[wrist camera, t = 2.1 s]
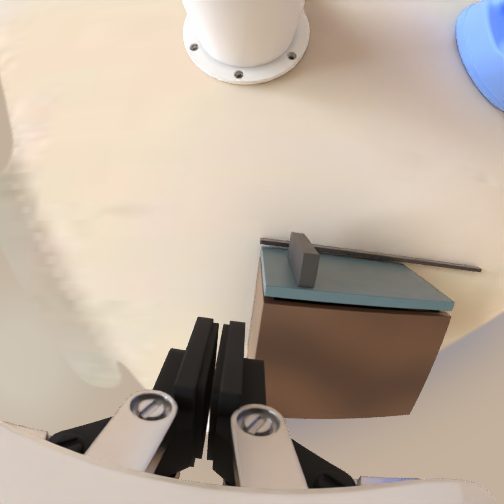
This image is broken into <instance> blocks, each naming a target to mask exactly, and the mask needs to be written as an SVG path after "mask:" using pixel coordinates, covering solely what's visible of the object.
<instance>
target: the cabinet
mask: <svg viewBox="0 0 504 504" xmlns="http://www.w3.org/2000/svg"><path fill="white" fill-rule="evenodd" d="M289 243H290V241H282V240H274V239H265V238H260V244H265V245H274V246H282V247H289ZM312 245H313V246H314V248H315V249H316V250H317V251H322V252H330V253H338V254H346V255H354V256H362V257H370V258H378V259H385V260H393V261H401V262H409V263H416V264H424V265H431V266H439V267H446V268H454V269H461V270H468V271H476V272H481V269H480V268H478V267H474V266H467V265H460V264H454V263H447V262H440V261H433V260H426V259H419V258H411V257H404V256H397V255H390V254H382V253H375V252H367V251H360V250H352V249H345V248H337V247H329V246H321V245H314V244H312ZM450 319H451V316H450V315H449V314H448V313H447V312H445V311H444V310H426V309H409V308H393V307H379V306H366V305H353V304H341V303H330V302H319V301H308V300H298V299H288V298H279V297H269V296H264V288H263V276H262V264H261V257H260V259H259V267H258V274H257V281H256V289H255V296H254V304H253V311H252V318H251V325H250V333H249V340H248V353H247V358H249V359H259V360H264V368H265V387H266V406H269V407H271V408H273V409H275V410H277V411H278V412H279V413H280V414H281V415H282V416H283V418H304V419H345V418H371V417H386V416H398V415H409V414H410V412H411V411H412V408H413V406H414V405H415V403H416V401H417V399H418V397H419V394H420V392H421V390H422V388H423V386H424V384H425V382H426V380H427V377H428V375H429V373H430V371H431V368H432V366H433V364H434V361H435V359H436V356H437V354H438V351H439V349H440V346H441V344H442V341H443V339H444V336H445V333H446V331H447V328H448V325H449V322H450Z"/></svg>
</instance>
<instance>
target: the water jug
mask: <svg viewBox="0 0 504 504" xmlns="http://www.w3.org/2000/svg"><path fill="white" fill-rule="evenodd" d="M456 40H457V45H458V49H459V53H460V56H461V58H462V61H463V63H464V66H465V68H466V70H467V72H468V74H469V75H470V77H471V79H472V80H473V82H474V83H475V85H476V86H477V88H478V89H479V90H480V92H481V93H482V94H483V95H484V96H485V97H486V98H487V99H488V100H489V101H490V102H491V103H492V104H493V105H494V106H496V107H497V108H499V109H500V110H502V111H504V0H482V1H480V2H478V3H476V4H473V5H471V6H469V7H468V8H466V9H465V10H463V11H462V12H461V14H460V15H459V17H458V20H457V24H456Z"/></svg>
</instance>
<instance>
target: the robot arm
mask: <svg viewBox="0 0 504 504" xmlns="http://www.w3.org/2000/svg"><path fill="white" fill-rule="evenodd" d="M305 1H306V0H182V2H183V4H184V6H185V9H186V11H187V13H188V15H187V18H186V21H185V24H184V31H183V37H184V44H185V47H186V49H187V52H188V54H189V55H190V57H191V59H192V60H193V61H194V63H195V64H196V65H197V66H198V67H199V68H200V69H201V70H203V71H204V72H205V73H206V74H208V75H210V76H212V77H214V78H216V79H218V80H221V81H224V82H227V83H233V84H240V85H248V84H258V83H264V82H268V81H270V80H273V79H276V78H278V77H280V76H282V75H283V74H285V73H287V72H288V71H289V70H291V69H292V68H293V67H294V66H295V65H296V64H297V63H298V62H299V60H300V59H301V58H302V56H303V54H304V52H305V51H306V48H307V45H308V42H309V36H310V28H309V21H308V19H307V16H306V14H305V12H304V10H303V7H304V4H305ZM195 48H197V50H196V51H193V50H194V49H195ZM289 57H293V60H291V59H289ZM238 75H241V76H242V78H240V79H238V78H237V76H238ZM218 329H219V323H213V319H211V318H204V317H198V318H197V321H196V323H195V326H194V329H193V332H192V334H191V337H190V340H189V343H188V346H187V348H186V350H180V349H173V348H171V349H170V351H169V353H168V355H167V357H166V360H165V362H164V364H163V367H162V369H161V371H160V374H159V376H158V378H157V381H156V383H155V385H154V388H153V390H142V391H138V392H135V393H133V394H131V395H130V396H129V397H128V398H127V399H126V400H125V402H124V403H123V404H122V406H121V407H120V408H119V409H118V411H117V412H116V413H115V415H114V416H113V417H110V418H106V419H103V420H100V421H96V422H93V423H90V424H86V425H83V426H79V427H75V428H72V429H68V430H64V431H61V432H58V433H56V434H54V435H53V436H49V434H48V432H47V431H42V430H37V429H33V428H28V427H24V426H20V425H15V424H12V423H8V422H4V421H0V504H498V503H497V501H496V500H495V499H494V497H493V496H492V495H491V494H490V493H489V492H488V491H487V490H486V489H485V488H483V487H482V486H480V485H478V484H476V483H473V482H470V481H465V480H458V479H457V480H456V479H445V478H441V479H440V478H437V479H418V478H383V477H367V476H360V478H359V479H352V477H351V476H349V475H348V474H347V473H346V472H344V471H343V470H341V469H339V468H337V467H336V466H334V465H332V464H330V463H329V462H327V461H326V460H324V459H322V458H320V457H319V456H317V455H316V454H314V453H313V452H311V451H309V450H308V449H306V448H305V447H303V446H301V445H300V444H299V443H297V442H296V441H294V440H293V439H291V437H290V434H289V431H288V428H287V425H286V422H285V420H284V418H283V416H282V415H281V414H280V413H279V412H278V411H277V410H275V409H273V408H271V407H269V406H266V387H265V368H264V360H259V359H249V358H244V340H245V323H244V322H236V321H230V325H227V324H224V325H223V330H222V335H221V341H220V346H219V352H218V357H217V363H216V352H217V340H218ZM215 363H216V368H215ZM209 412H210V417H209ZM208 417H209V433H208V450H207V460H213V470H214V471H215V472H216V473H217V474H219V475H220V476H221V477H222V478H223V485H216V484H207V483H200V482H193V481H187V480H181V479H179V477H180V471H181V470H183V469H186V468H188V467H190V466H191V467H194V462H195V458H199V459H201V458H202V454H203V447H204V442H205V436H206V429H207V423H208Z"/></svg>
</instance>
